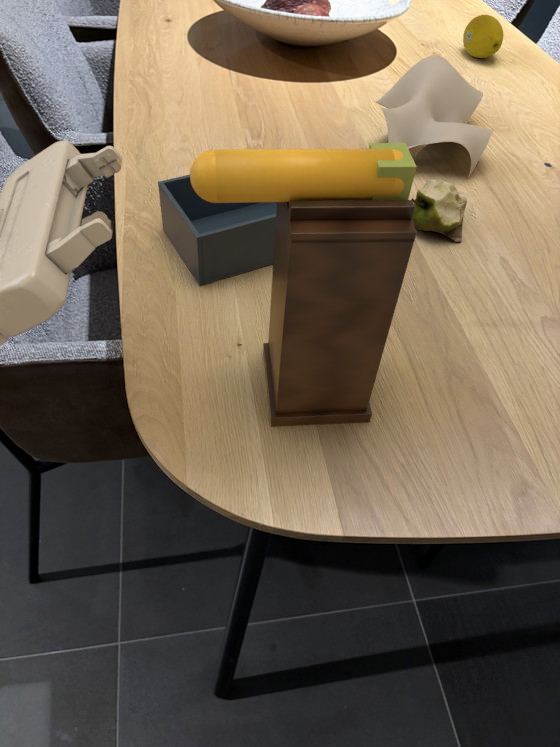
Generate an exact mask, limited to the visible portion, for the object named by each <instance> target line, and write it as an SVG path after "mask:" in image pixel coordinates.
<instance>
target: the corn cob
mask: <svg viewBox="0 0 560 747" xmlns="http://www.w3.org/2000/svg"><path fill="white" fill-rule="evenodd" d="M417 167H418V166H417V164H416V162H415V160H414V159H413V158H412V156H411V154H410V152H409V150H408V147H407V145H406V143H388V142H370V143H369V145H368V148H267V149H266V148H259V149H258V148H254V149H253V148H251V149H250V148H248V149H247V148H245V149H241V148H240V149H239V148H238V149H234V148H233V149H232V148H231V149H229V148H228V149H225V148H224V149H221V148H220V149H210V150H205V151H203V152H202V153H200V154H199V155H198V156H196V158H195V159H194V160H193V162H192V164H191V166H190V171H189V175H190V180H191V184H192V187H193V189H194V191H195V192H196V193H197V194H198V196H200V197H201V198H202V199H204V200H206V201H208V202H212V203H247V202H289V201H305V200H410V194H411V191H412V186H413V183H414V179H415V175H416V170H417Z"/></svg>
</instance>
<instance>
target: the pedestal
mask: <svg viewBox="0 0 560 747" xmlns="http://www.w3.org/2000/svg"><path fill="white" fill-rule="evenodd" d="M414 209H415V206H414V203H413V201H412V200H411V199H408V200H305V201H289V202H277V211H276V227H275V243H274V259H273V264H272V277H271V289H270V290H271V292H270V308H269V324H268V339H267V342H263V344H262V355H263V366H264V375H265V383H266V385H265V386H266V393H267V403H268V413H269V422H270V426H271V427H283V426H284V427H287V426H308V425H327V424H328V425H330V424H351V423H370V422H371V419H372V416H373V412H372V407H371V403H370V400H371V398H372V397H371V396H372V393H373V389H374V386H375V382H376V380H377V375H378V371H379V369H380V364H381V361H382V357H383V353H384V351H385V347H386V344H387V340H388V336H389V333H390V329H391V325H392V322H393V318H394V315H395V311H396V308H397V305H398V300H399V297H400V293H401V290H402V286H403V284H404V279H405V276H406V272H407V269H408V265H409V263H410V262H409V261H410V259H411V258H410V257H411V254H412V250H413V247H414V243H415V241H416V236H417V233H418V232H417V230H416V229H417V228H416V227H415V226H414V224H413V221H412V216H413V212H414Z"/></svg>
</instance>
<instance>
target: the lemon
mask: <svg viewBox="0 0 560 747" xmlns="http://www.w3.org/2000/svg"><path fill="white" fill-rule="evenodd" d="M462 42H463V43H462V44H463V47H464V50H465V52H466V53H467V54H468V55H469V56H471V57H473V58H476V59H486V58H490V57H492V56H493V55H495V54H496V53H498V51H499V50H500V49H501V47H502V44H503V42H504V29H503V27H502V24H501V22H500V21H499V20H498V19H497V18H496V17H494V16H492V15H489V14H479V15H477V16H475V17H474V18H472V19H471V20H470V21H469V22H468V23H467V25H466V27H465V28H464V30H463V37H462Z"/></svg>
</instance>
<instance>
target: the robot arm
mask: <svg viewBox="0 0 560 747" xmlns="http://www.w3.org/2000/svg"><path fill="white" fill-rule="evenodd" d="M122 164H123V157H122V156H121V154H120V153H119V152H118V150H117V149H116V148H115V147H114V146H112V145H106V146H105V147H103V148H102V149H99V150H98V151H96V152H88V153H81V152H80V151H79V150H78V149H77V148H76V147H75V145H74V144H73V143H72V142H71V141H69V140H58V141H55V142H54V143H52V144H50V145H49V146H48V147H46V148H45V149H43V150H41V151H40V152H38V153H37V154H36V155H34V156H33V157H31V158H29V159H28V160H27V161H26V162H24V163H23V164H21V165H20V166H19V167H17V169H15V170H14V171H13V172H12V173H11V174H10V175H9V176H8V177H7V178H6V179H5V181H4V183H3V185H2V188H1V191H0V346H2V345H4V344H5V343H6V342H7V341H9V338H13V337H17V336H19V335H21V334H23V333H26V332H27V331H29V330H32V329H33V328H35V327H39V325H41V324H44V322H47V321H48V320H50V319H51V318H53V317H54V316H55V315H56V314H57V313H58V312H59V311H60V310H61V308H62V307H63V306H64V305H65V303H66V302H67V296H68V290H69V286H70V280H71V276H72V271H73V270H75V269H77V268H79V267H80V266H81V264H82V263H83V262H84V261H85V260H86V259H87V258H88V257H89V256H90V255H91V254H92V253H93V252H94V251H95V250H96V248H97V247H99V246H101V245H103V244H106V242H109V241H111V239H112V238H113V232H114V222H113V221H112V220H111V219H109V217H108V215H107V214H106V213H105V212H103V211H98V210H97V211H95V212H93V213H92V214H91V215H87V216H86V217H84V218H83V213H84V212H83V211H84V208H85V201H86V196H87V191H88V188H89V187H88V186H89V185H90V184H91V183H93V182H94V180H95V178H97V177H101V176H104V177H105V179H109V178H110V177H112V176H114V175H115V174H117V173H119V172H120V171H121V169H122Z"/></svg>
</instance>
